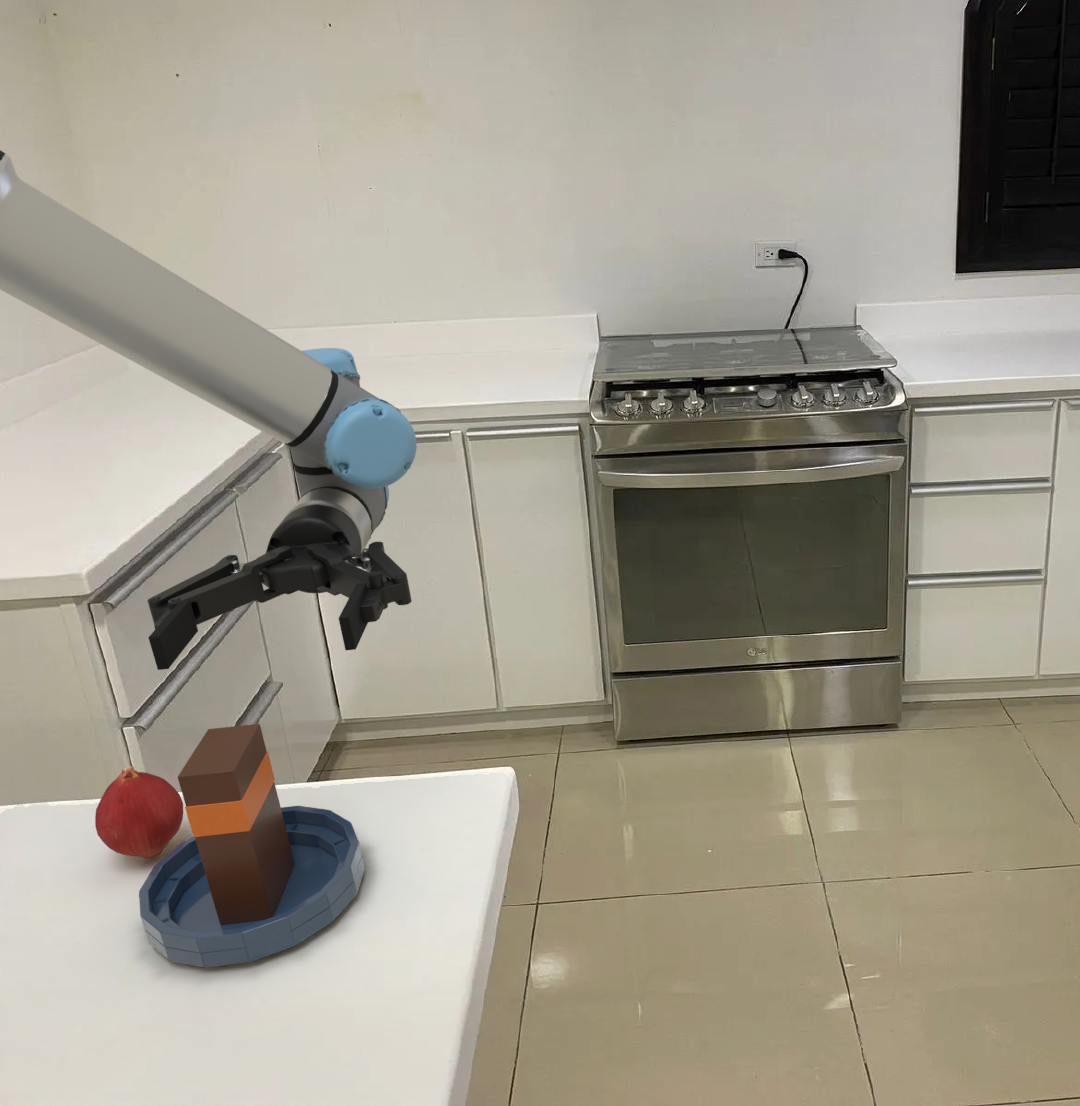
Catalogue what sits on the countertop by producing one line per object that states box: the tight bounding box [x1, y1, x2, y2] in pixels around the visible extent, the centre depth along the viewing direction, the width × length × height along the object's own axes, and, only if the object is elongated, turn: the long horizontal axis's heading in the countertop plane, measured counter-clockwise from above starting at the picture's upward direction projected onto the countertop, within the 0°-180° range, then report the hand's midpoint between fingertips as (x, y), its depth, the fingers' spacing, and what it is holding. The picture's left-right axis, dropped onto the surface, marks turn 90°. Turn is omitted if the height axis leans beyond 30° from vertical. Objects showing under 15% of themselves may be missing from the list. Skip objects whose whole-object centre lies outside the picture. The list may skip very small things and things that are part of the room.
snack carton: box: [177, 723, 295, 925], centre depth 74 cm, size 4×6×12 cm, turn 7°
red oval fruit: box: [94, 765, 184, 860], centre depth 81 cm, size 6×6×8 cm
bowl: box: [138, 805, 366, 968], centre depth 76 cm, size 14×14×3 cm
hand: (253, 643), depth 80 cm, fingers open, 13 cm apart
